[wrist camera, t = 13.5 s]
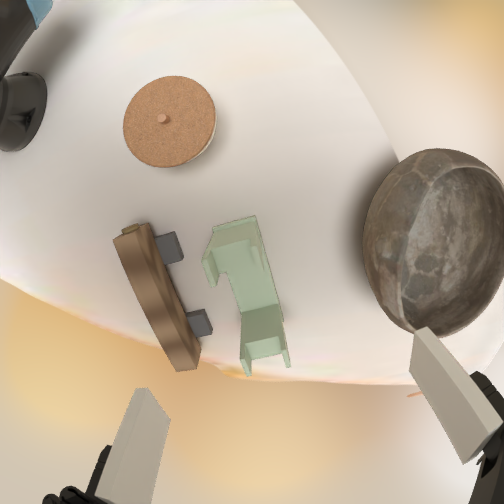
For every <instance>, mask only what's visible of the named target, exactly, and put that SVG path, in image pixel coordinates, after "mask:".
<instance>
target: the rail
mask: <svg viewBox="0 0 504 504" xmlns="http://www.w3.org/2000/svg"><path fill="white" fill-rule="evenodd" d="M122 233H123V234H121V235H119V236H118V237H116V238H115V239H113V243H114V245H115V248H116V250H117V253H118V255H119V258H120V260H121V263H122V265H123V267H124V270H125V272H126V274H127V277H128V279H129V281H130V283H131V286H132V288H133V290H134V292H135V294H136V297H137V299H138V301H139V303H140V305H141V307H142V309H143V311H144V313H145V315H146V317H147V319H148V321H149V323H150V325H151V327H152V329H153V331H154V333H155V335H156V337H157V338H158V340H159V342H160V344H161V346H162V348H163V349H164V351H165V353H166V355H167V357H168V358H169V360H170V362H171V364H172V365H173V367H174V368H175V370H176V371H177V372H180V371H187V370H194V369H197V365H198V361H199V357H200V353H201V347H200V345H199V343H198V341H197V339H196V337H195V335H194V333H193V331H192V328H191V326H190V324H189V322H188V320H187V318H186V315H185V313H184V311H183V309H182V306H181V304H180V302H179V299H178V297H177V295H176V292H175V290H174V288H173V285H172V283H171V281H170V278H169V276H168V273H167V271H166V268H165V266H164V263H163V261H162V258H161V255H160V253H159V250H158V248H157V245H156V242H155V240H154V237H153V234H152V231H151V229H150V226H149V223H146V224H144V225H141V226H138V223H137V224H133V225H131V226H128V227H126V228H124V229H122Z"/></svg>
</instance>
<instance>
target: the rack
mask: <svg viewBox="0 0 504 504" xmlns="http://www.w3.org/2000/svg"><path fill="white" fill-rule="evenodd" d="M212 230H213V233H214V234H213V236H212V238H211V240H210V242H209V245H208V247H207V249H206V251H205V253H204V255H203V257H202V259H201V262H202V265H203V268H204V270H205V273H206V276H207V278H208V281H209V284H210V286H211V287H215V286H217V282H218V278H219V274H222V273H226V272H227V275H228V278H229V281H230V284H231V287H232V290H233V293H234V296H235V298H236V301H237V304H238V307H239V310H240V313H241V315H242V318H241V341H240V362H241V364H242V366H243V369H244V371H245V373H246V376H252V375H251V360H255V359H260V358H264V357H269V356H273V355H277V354H282V355H283V358H284V362H285V365H286V368H289V367H291V363H290V358H289V353H288V348H287V342H286V337H285V332H284V327H283V322H284V319H283V315H282V311H281V308H280V304H279V300H278V297H277V293H276V289H275V286H274V282H273V278H272V275H271V271H270V267H269V264H268V260H267V257H266V253H265V249H264V246H263V242H262V239H261V235H260V232H259V228H258V225H257V221H256V218H255V215H254V216H250V217H247V218H243V219H240V220H236V221H233V222H229V223H225V224H222V225H218V226H215V227H213V228H212Z"/></svg>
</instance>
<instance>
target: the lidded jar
mask: <svg viewBox="0 0 504 504" xmlns="http://www.w3.org/2000/svg"><path fill="white" fill-rule="evenodd" d="M216 122H217V117H216V111H215V107H214V103H213V101H212V99H211V97H210V95H209V94H208V92H207V91H206V89H205V88H204V87H202V86H201V85H200V84H199V83H197V82H196V81H194V80H192V79H189V78H186V77H182V76H167V77H162V78H159V79H156V80H154V81H152V82H150V83H148V84H147V85H145V86H144V87H143V88H141V89H140V90H139V91H138V92H137V93H136V94H135V96H134V97H133V98H132V100H131V102H130V103H129V105H128V107H127V110H126V112H125V116H124V122H123V132H124V137H125V141H126V144H127V146H128V148H129V149H130V151H131V152H132V153H133V155H134V156H135V157H136V158H138V159H139V160H140V161H142V162H144V163H146V164H148V165H151V166H154V167H173V166H178V165H181V164H184V163H187V162H189V161H191V160H193V159H194V158H196V157H197V156H199V155H200V154H201V153H202V152H203V151H204V150H205V149H206V148H207V147H208V146H209V144H210V142H211V141H212V139H213V136H214V134H215V130H216Z"/></svg>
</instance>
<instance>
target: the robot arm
mask: <svg viewBox="0 0 504 504" xmlns="http://www.w3.org/2000/svg"><path fill="white" fill-rule="evenodd" d="M52 4H53V1H52V0H0V150H2V151H6V152H11V151H18V150H20V149H22V148H24V147H25V146H26V145H27V144H28V143H29V142H30V141H31V140H32V138H33V137H34V135H35V134H36V132H37V130H38V128H39V126H40V123H41V121H42V118H43V115H44V111H45V107H46V99H47V90H46V84H45V82H44V79H43V78H42V77H41V76H40V75H38V74H35V73H32V72H22V73H18V74H13V75H9V76H5V74H6V72H7V70H8V69H9V67H10V65H11V64H12V62H13V61H14V59H15V58H16V56H17V54H18V53H19V51H20V50H21V48H22V47H23V46H24V44H25V43H26V41H27V40H28V39H29V37H30V36H31V34H32V33H33V32H34V30H37V28H38V27H39V24H40V23H41V21H42V20H43V19H44V18H45V16H46V15H47V14H48V13H49V11H50V10H51V8H52ZM4 76H5V77H4ZM409 372H410V373H411V375H412V376H413V378H414V379H415V381H416V383H417V384H418V386H419V387H420V389H421V391H422V392H423V394H424V396H425V397H426V399H427V401H428V402H429V404H430V406H431V407H432V409H433V410H434V412H435V414H436V416H437V418H438V419H439V421H440V423H441V424H442V426H443V428H444V430H445V432H446V433H447V435H448V437H449V439H450V440H451V442H452V444H453V446H454V448H455V450H456V452H457V454H458V456H459V458H460V460H461V461H462V463H463V465H464V464H465V463H467V462H469V461H470V460H472V459H473V458H474V457H476V456H477V455H478V454H479V453H480V452H481V451H482V450H483V452H484V454H483V455H482V456H481V458H480V459H479V460H478V462H477V464H476V465H478V464H479V463H480V462H481V461H482V462H481V466H480V470H479V474H478V477H477V480H476V483H475V486H474V490H473V492H472V495H471V498H470V501H469V503H468V504H504V398H503V397H502V395H501V394H500V393H499V392H498V391H497V390H496V388H495V387H494V385H492V383H491V382H490V380H489V379H488V378H487V377H486V376H485V375H483V374H482V373H480V372H478V371H476V372H474V373H473V374H471V375H468V374H467V372H466V371H465V370H464V369H463V367H462V366H461V365H460V364H459V362H458V361H457V360H456V359H455V358H454V356H453V355H452V354H451V353H450V352H449V351H448V349H447V348H446V347H445V346H444V345H443V344H442V342H441V341H440V340H439V339H438V338H437V337H436V336H435V334H434V333H433V332H432V331H431V330H430V329H429V328H428V327H424V328H422V329H419V330H417V331H414V340H413V348H412V355H411V361H410V368H409ZM169 424H170V418H169V417H168V415H167V414H166V413H165V411H164V410H163V409H162V407H161V406H160V405H159V403H158V402H157V400H156V399H155V397H154V396H153V394H152V393H151V391H150V390H149V389H148V388H136V389H135V392H134V394H133V396H132V398H131V401H130V403H129V406H128V408H127V410H126V413H125V415H124V418H123V420H122V422H121V425H120V427H119V430H118V432H117V435H116V438H115V440H114V443H113V445H112V446H110V445H107V446H106V447H105V448H104V449H103V451H102V452H101V453H100V456H99V459H98V462H97V464H96V466H95V469H94V472H93V474H92V477H91V480H90V482H89V485H88V488H87V490H86V492H85V493H83V492H81V491H80V490H79V489H77V488H76V487H73V486H67V487H65V488H64V489H63V490H62V491H61V492H60V496H59V497H58V496H56V495H55V494H48V495H46V496H45V497H44V499H43V502H42V504H151V500H152V496H153V491H154V487H155V482H156V478H157V473H158V469H159V465H160V461H161V457H162V453H163V448H164V444H165V440H166V437H167V433H168V429H169Z"/></svg>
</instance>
